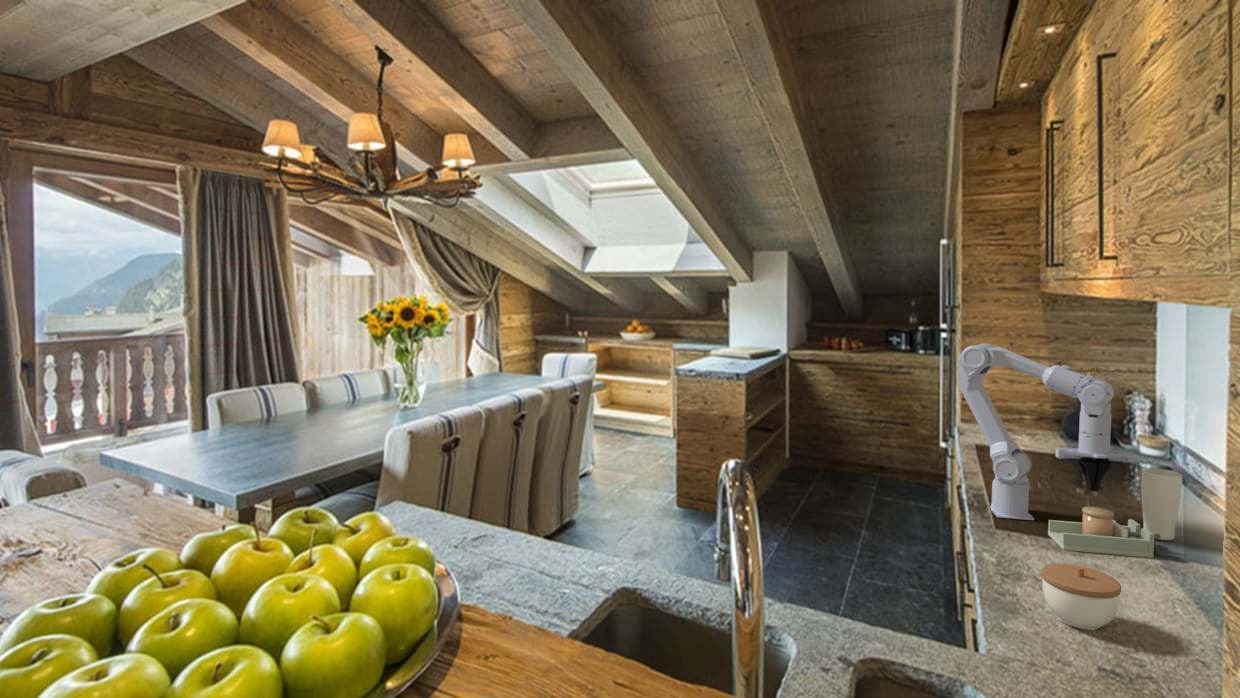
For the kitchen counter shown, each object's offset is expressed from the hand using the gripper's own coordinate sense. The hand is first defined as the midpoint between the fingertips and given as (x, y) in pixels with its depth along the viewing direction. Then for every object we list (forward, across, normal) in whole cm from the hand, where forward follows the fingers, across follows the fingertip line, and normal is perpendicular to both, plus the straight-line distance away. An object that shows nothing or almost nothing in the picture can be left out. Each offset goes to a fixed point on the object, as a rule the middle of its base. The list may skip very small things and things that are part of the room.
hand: (1092, 489), depth 139 cm
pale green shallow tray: (+10, -2, -9) cm, 14 cm away
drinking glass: (+10, +13, 0) cm, 16 cm away
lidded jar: (+10, -19, -46) cm, 51 cm away
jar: (+9, -2, -9) cm, 13 cm away
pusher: (+9, +5, -9) cm, 13 cm away
